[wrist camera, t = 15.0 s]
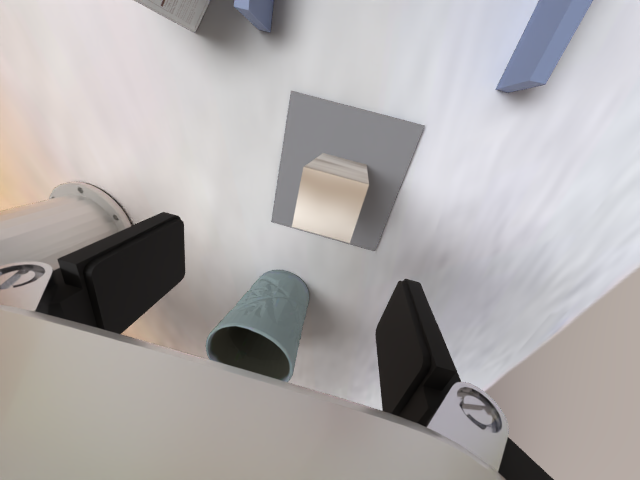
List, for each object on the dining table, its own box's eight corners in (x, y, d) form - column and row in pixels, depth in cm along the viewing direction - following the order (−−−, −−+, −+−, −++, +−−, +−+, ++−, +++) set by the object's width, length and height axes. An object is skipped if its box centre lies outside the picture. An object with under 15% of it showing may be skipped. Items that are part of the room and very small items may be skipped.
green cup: (318, 317, 38) (301, 392, 27) (260, 318, 40) (222, 389, 29) (305, 261, 34) (279, 325, 23) (241, 266, 36) (190, 326, 25)
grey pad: (374, 249, 31) (374, 251, 31) (272, 220, 32) (271, 221, 31) (423, 125, 24) (424, 125, 24) (292, 91, 25) (291, 90, 24)
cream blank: (353, 206, 29) (349, 243, 20) (313, 195, 29) (291, 226, 20) (366, 164, 26) (369, 184, 17) (323, 152, 27) (303, 166, 18)
